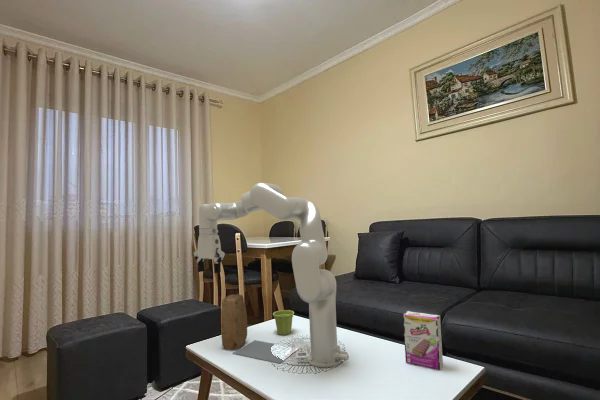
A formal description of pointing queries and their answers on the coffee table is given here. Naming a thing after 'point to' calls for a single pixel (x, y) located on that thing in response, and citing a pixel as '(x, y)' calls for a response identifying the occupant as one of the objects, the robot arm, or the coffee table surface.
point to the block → (233, 322)
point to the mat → (259, 351)
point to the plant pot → (283, 321)
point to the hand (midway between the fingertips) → (209, 272)
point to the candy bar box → (423, 340)
